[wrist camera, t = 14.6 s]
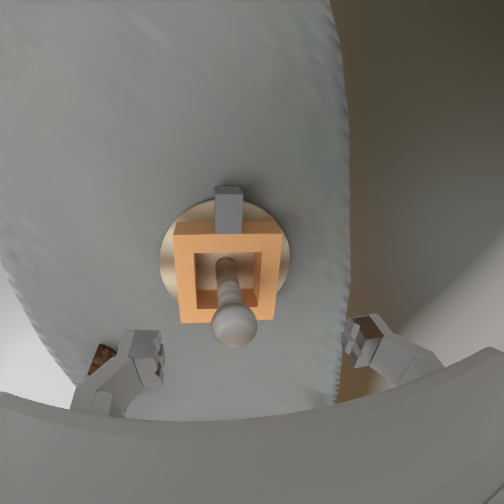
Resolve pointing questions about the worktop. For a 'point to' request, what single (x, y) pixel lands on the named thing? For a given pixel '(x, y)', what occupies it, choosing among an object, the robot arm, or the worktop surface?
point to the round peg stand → (223, 275)
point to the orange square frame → (227, 241)
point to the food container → (101, 359)
